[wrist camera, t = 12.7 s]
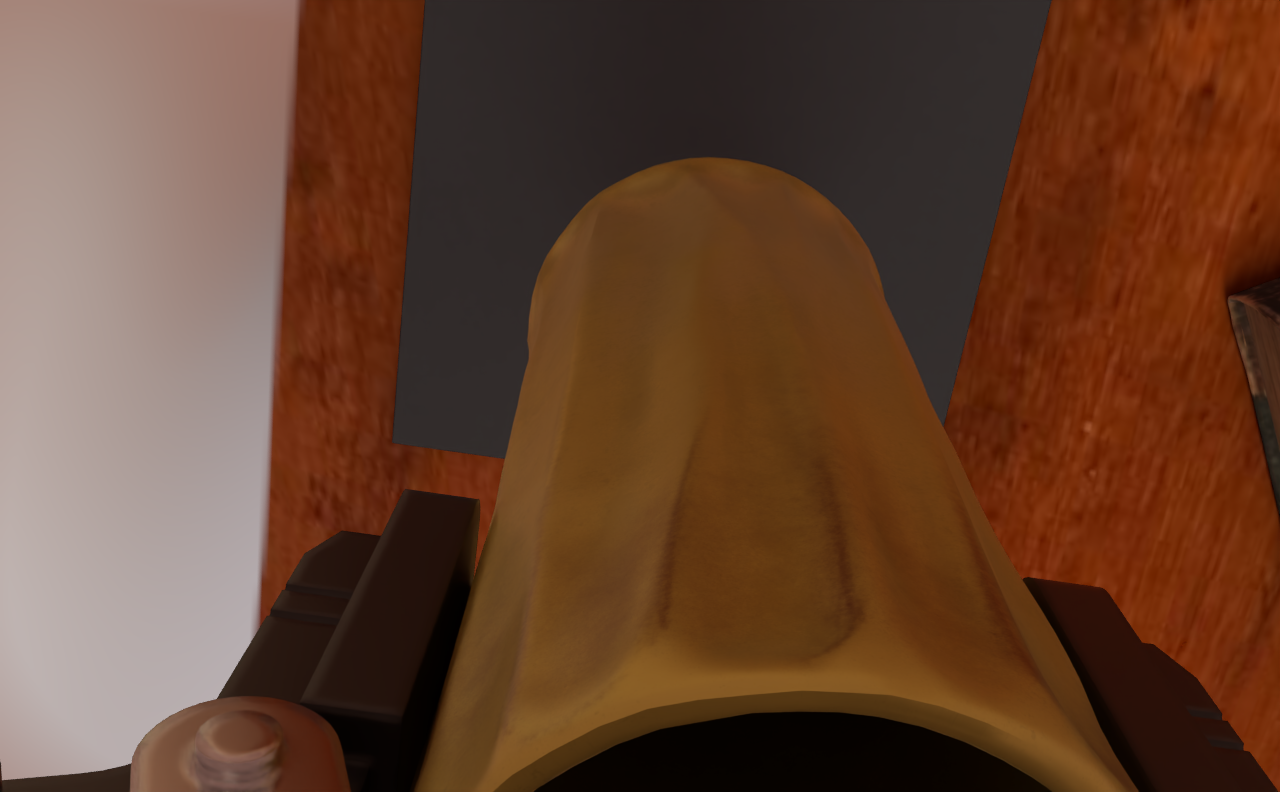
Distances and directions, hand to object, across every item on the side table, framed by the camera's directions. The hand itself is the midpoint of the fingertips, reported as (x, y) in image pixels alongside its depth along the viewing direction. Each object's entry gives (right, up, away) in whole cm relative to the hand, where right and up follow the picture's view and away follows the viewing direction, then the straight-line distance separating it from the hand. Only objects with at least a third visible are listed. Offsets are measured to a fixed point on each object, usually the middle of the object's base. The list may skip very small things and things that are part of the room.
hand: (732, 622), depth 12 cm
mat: (+1, +7, +17) cm, 19 cm away
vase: (0, +3, +9) cm, 10 cm away
